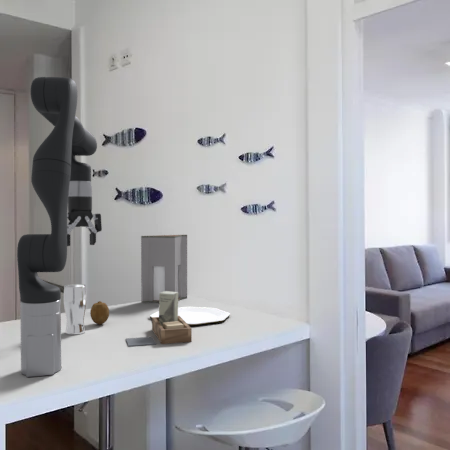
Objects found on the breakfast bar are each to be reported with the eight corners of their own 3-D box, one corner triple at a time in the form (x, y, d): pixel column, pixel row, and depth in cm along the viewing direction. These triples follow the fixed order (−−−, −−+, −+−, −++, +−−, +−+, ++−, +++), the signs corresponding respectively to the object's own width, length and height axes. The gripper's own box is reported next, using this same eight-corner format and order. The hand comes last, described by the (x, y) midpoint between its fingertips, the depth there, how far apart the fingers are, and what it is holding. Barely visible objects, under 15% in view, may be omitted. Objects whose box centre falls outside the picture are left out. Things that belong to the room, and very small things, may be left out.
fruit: (113, 323, 169) (113, 300, 169) (99, 327, 164) (99, 303, 164) (100, 321, 173) (100, 298, 172) (86, 325, 167) (86, 301, 167)
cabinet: (185, 297, 219) (185, 234, 218) (195, 301, 211) (195, 235, 210) (141, 302, 208) (141, 235, 207) (150, 306, 200) (150, 237, 199)
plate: (235, 312, 189) (235, 309, 189) (217, 329, 163) (217, 325, 163) (168, 309, 196) (168, 305, 196) (139, 324, 170) (139, 320, 169)
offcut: (183, 332, 149) (183, 324, 148) (167, 334, 146) (167, 326, 146) (178, 329, 153) (178, 321, 153) (162, 330, 151) (162, 322, 151)
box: (158, 333, 157) (157, 292, 156) (163, 330, 161) (163, 290, 160) (173, 334, 155) (173, 293, 155) (178, 331, 159) (178, 291, 159)
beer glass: (78, 328, 162) (78, 283, 162) (91, 332, 158) (90, 285, 157) (59, 332, 157) (59, 285, 156) (72, 336, 152) (71, 288, 152)
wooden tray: (191, 341, 147) (191, 328, 147) (161, 344, 144) (161, 330, 144) (179, 327, 164) (179, 315, 164) (152, 329, 161) (152, 317, 161)
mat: (156, 344, 144) (156, 343, 144) (128, 346, 141) (128, 345, 141) (152, 337, 151) (152, 336, 151) (125, 339, 149) (125, 338, 149)
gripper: (64, 194, 153) (64, 247, 153) (105, 195, 163) (105, 245, 163) (53, 195, 158) (54, 245, 159) (94, 196, 168) (94, 244, 168)
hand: (80, 245), depth 161 cm, fingers open, 8 cm apart
